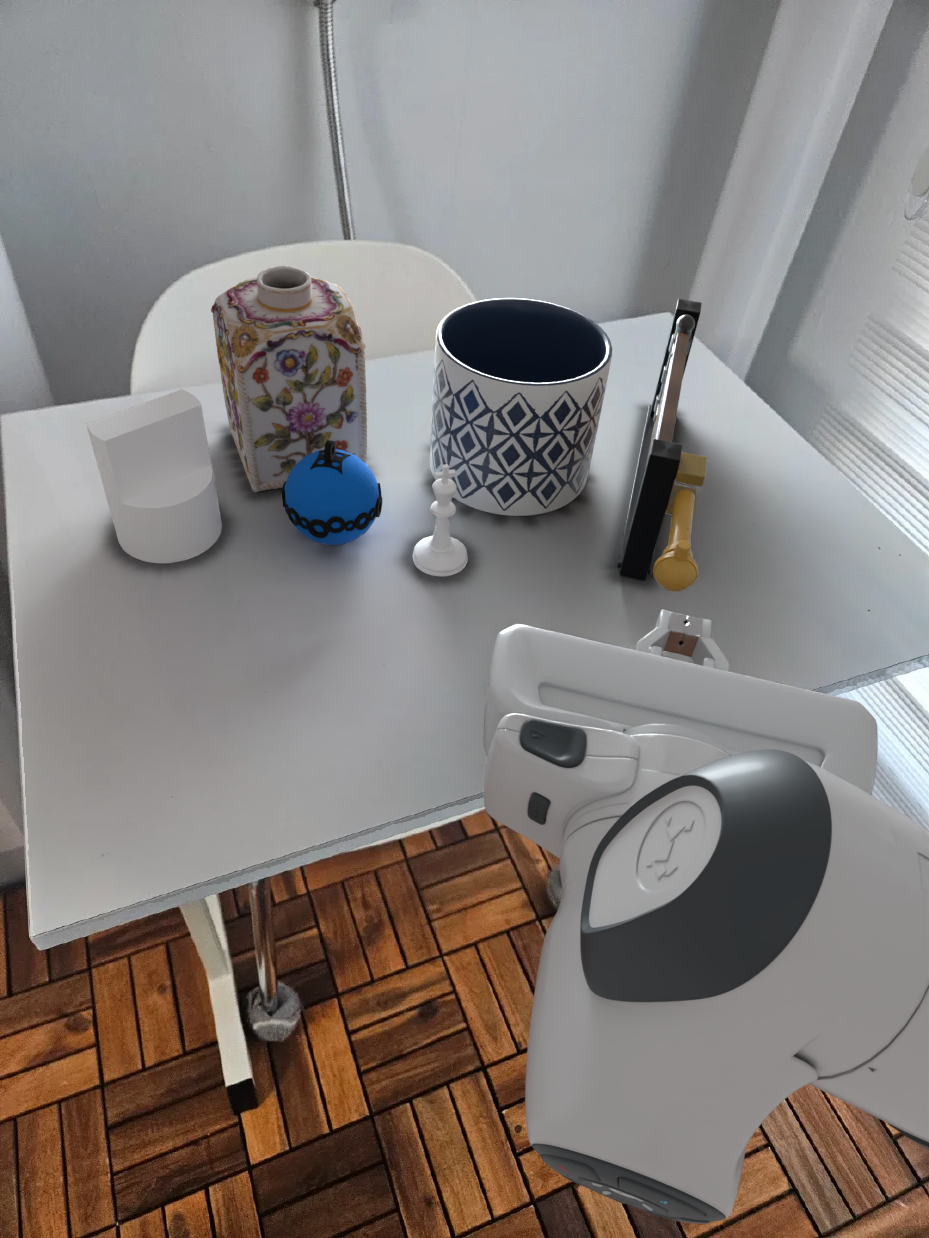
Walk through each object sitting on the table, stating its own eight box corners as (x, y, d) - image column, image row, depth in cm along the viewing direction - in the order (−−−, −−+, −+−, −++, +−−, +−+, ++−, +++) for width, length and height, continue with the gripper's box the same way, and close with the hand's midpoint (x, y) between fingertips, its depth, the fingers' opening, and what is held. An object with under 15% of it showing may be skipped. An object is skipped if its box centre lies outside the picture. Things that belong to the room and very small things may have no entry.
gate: (652, 414, 97) (678, 309, 88) (670, 418, 96) (698, 313, 88) (625, 547, 80) (654, 434, 72) (647, 552, 80) (678, 439, 72)
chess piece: (405, 545, 80) (408, 453, 73) (457, 536, 82) (464, 445, 74) (421, 581, 77) (426, 488, 70) (475, 571, 78) (484, 479, 71)
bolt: (660, 509, 73) (672, 467, 70) (699, 517, 72) (713, 475, 69) (647, 596, 65) (659, 552, 62) (690, 605, 65) (705, 562, 62)
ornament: (301, 499, 84) (294, 407, 77) (390, 513, 83) (391, 421, 76) (273, 558, 78) (262, 464, 71) (369, 573, 77) (367, 480, 70)
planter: (558, 421, 96) (579, 293, 86) (609, 511, 86) (640, 378, 75) (414, 432, 93) (418, 301, 83) (449, 528, 82) (459, 391, 72)
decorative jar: (338, 412, 95) (331, 243, 82) (370, 475, 87) (369, 300, 74) (225, 429, 91) (199, 255, 78) (249, 496, 84) (225, 316, 71)
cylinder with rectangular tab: (188, 487, 84) (166, 373, 75) (241, 535, 80) (224, 419, 71) (98, 525, 79) (64, 408, 71) (150, 577, 75) (120, 460, 66)
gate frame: (648, 409, 99) (675, 298, 90) (691, 417, 99) (723, 306, 89) (615, 577, 79) (645, 455, 70) (669, 589, 78) (708, 468, 69)
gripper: (916, 839, 39) (887, 624, 48) (462, 728, 41) (521, 544, 51) (859, 907, 43) (844, 698, 53) (454, 803, 46) (509, 621, 55)
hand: (683, 622), depth 52 cm, fingers closed
